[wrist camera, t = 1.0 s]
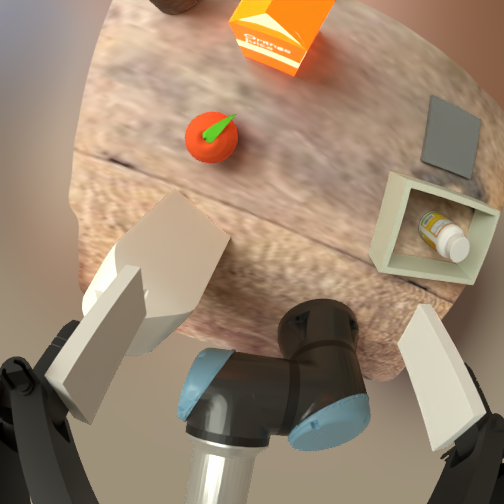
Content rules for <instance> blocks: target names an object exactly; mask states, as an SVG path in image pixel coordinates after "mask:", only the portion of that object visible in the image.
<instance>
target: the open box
mask: <svg viewBox="0 0 504 504" xmlns="http://www.w3.org/2000/svg"><path fill="white" fill-rule="evenodd" d="M411 188H413V189H417V190H420V191H424V192H427V193H430V194H434V195H437V196H440V197H443V198H446V199H449V200H452V201H455V202H458V203H461V204H464V205H467V206H470V207H473V208H475V212H474V215H473V218H472V221H471V225H470V228H469V231H468V234H467V237H466V238H467V239H468V241H469V243H470V249H469V253H468V255H467V256H466V258H465V259H464V260H462V261H461V262H457V263H456V264H455V263H450V262H444V261H439V260H433V259H428V258H422V257H417V256H411V255H405V254H399V253H393V252H392V251H393V248H394V245H395V242H396V239H397V236H398V233H399V230H400V226H401V223H402V219H403V216H404V212H405V209H406V205H407V201H408V198H409V194H410V190H411ZM499 216H500V211H498V210H496V209H495V208H493V207H491V206H489V205H487V204H486V203H484V202H482V201H480V200H477V199H475V198H472V197H470V196H467V195H464V194H462V193H459V192H456V191H453V190H450V189H448V188H445V187H442V186H439V185H436V184H433V183H430V182H426V181H423V180H420V179H417V178H413V177H410V176H407V175H403V174H400V173H396V172H392V171H390V172H389V176H388V181H387V185H386V190H385V194H384V198H383V202H382V206H381V210H380V213H379V217H378V221H377V224H376V228H375V232H374V235H373V238H372V242H371V245H370V248H369V252H368V255H369V257H370V258H371V260H372V261H373V263H374V265H375V266H376V268H377V270H378V271H379V272H381V273H388V274H395V275H403V276H410V277H417V278H425V279H432V280H439V281H447V282H454V283H462V284H469V285H473V284H474V282H475V280H476V278H477V275H478V273H479V271H480V268H481V266H482V264H483V261H484V259H485V256H486V254H487V251H488V248H489V245H490V243H491V240H492V237H493V234H494V231H495V228H496V225H497V222H498V219H499Z"/></svg>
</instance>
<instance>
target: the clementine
mask: <svg viewBox="0 0 504 504" xmlns="http://www.w3.org/2000/svg"><path fill="white" fill-rule="evenodd" d="M235 115H236V114H235ZM235 115H232V116H229V117H227V116H226V115H224V114H222V113H218V112H207V113H204V114H201V115H199V116H197V117H196V118H195V119H193V120H192V121H191V123H190V124H189V125H188V128H187V130H186V134H185V143H186V147H187V149H188V151H189V152H190V154H191V155H192V156H193V157H194V158H196V159H197V160H199V161H201V162H205V163H217V162H220V161H223V160H225V159H226V158H228V157H229V156H230V155H231V154H232V153H233V152H234V150H235V148H236V146H237V142H238V131H237V128H236V126H235V124H234V123H233V121H232V119H233V117H234V116H235Z"/></svg>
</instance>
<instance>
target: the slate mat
mask: <svg viewBox="0 0 504 504" xmlns="http://www.w3.org/2000/svg"><path fill="white" fill-rule="evenodd" d="M480 123H481V119H479V118H477V117H475V116H474V115H472V114H470V113H468V112H466V111H464V110H463V109H461V108H459V107H457V106H455V105H453V104H451V103H449V102H447V101H445V100H442V99H440V98H438V97H436V96H434V95H430V104H429V112H428V119H427V126H426V132H425V138H424V144H423V149H422V154H421V159H420V160H421V161H424V162H427V163H430V164H432V165H435V166H438V167H441V168H443V169H446V170H449V171H451V172H454V173H456V174H459V175H461V176H464V177H466V178H469V179H471V175H472V170H473V166H474V161H475V155H476V150H477V144H478V137H479V130H480Z"/></svg>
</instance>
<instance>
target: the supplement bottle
mask: <svg viewBox="0 0 504 504" xmlns="http://www.w3.org/2000/svg"><path fill="white" fill-rule="evenodd" d="M419 233H420V235H421V237H422V238H423V239H424V240H425V241H426V242H427V243H428V244H429V245H430V246H431V247H432V248H433V249H434V250H435V251H436V252H437V253H438V254H440V255H441V256H442V257H444V258H450V259H451V260H452V261H453V262H461V261H462V260H464V259H465V258H466V256H467V255H468V253H469V249H470V243H469V241H468V239H467V238H466V237H465V236H464V233H463V231H462V229H461V228H460V227H459V226H457V225H456V224H454V223H453V222H452V221H450V220H449V219H447V218H446V217H444V216H443V215H441V214H440V213H438V212H435V211H431V212H428V213H427V214H425V215H424V216H423V218H422V219H421V221H420V224H419Z"/></svg>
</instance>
